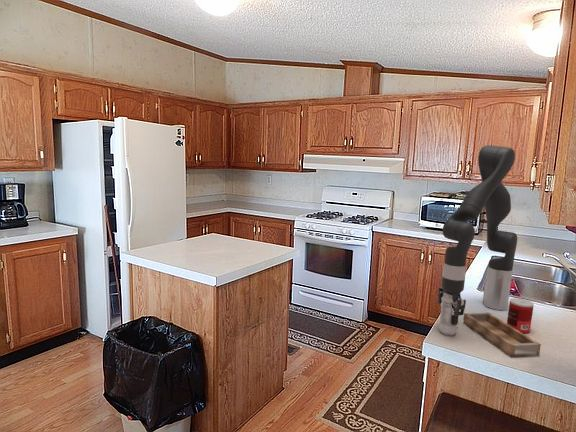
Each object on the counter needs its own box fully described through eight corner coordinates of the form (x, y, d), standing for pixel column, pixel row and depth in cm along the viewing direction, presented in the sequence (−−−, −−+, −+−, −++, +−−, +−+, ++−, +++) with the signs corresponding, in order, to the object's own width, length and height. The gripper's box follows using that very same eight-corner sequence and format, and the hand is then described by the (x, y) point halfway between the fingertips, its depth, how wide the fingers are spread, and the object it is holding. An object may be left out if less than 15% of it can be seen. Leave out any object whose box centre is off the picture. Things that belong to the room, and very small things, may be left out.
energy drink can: (458, 331, 146) (462, 292, 144) (454, 337, 141) (459, 297, 139) (440, 327, 149) (445, 289, 147) (437, 333, 145) (441, 293, 142)
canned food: (532, 329, 150) (536, 302, 149) (526, 336, 145) (530, 307, 143) (510, 323, 156) (513, 296, 154) (503, 328, 150) (507, 301, 148)
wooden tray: (463, 323, 154) (464, 313, 153) (487, 322, 156) (488, 312, 155) (510, 357, 129) (512, 345, 128) (539, 355, 131) (540, 344, 130)
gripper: (475, 282, 136) (470, 329, 138) (451, 270, 150) (447, 312, 152) (455, 283, 134) (450, 329, 137) (433, 270, 148) (429, 313, 151)
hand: (448, 320), depth 145 cm, fingers closed on energy drink can, 6 cm apart
